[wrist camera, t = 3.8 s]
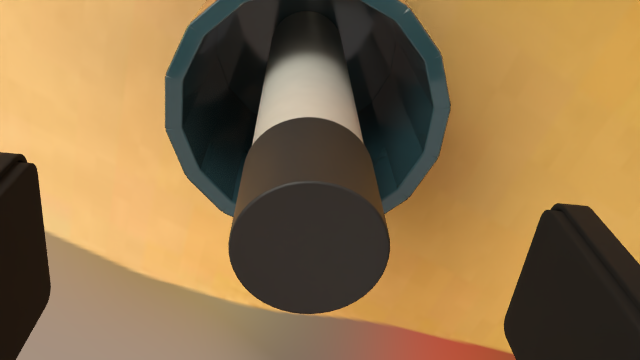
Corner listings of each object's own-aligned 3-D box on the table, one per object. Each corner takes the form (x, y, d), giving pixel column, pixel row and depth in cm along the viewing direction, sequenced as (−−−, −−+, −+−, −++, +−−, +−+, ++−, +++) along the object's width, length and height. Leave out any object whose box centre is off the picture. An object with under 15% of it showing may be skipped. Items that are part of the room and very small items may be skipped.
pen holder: (423, -49, 22) (480, -9, 15) (386, 143, 26) (417, 247, 19) (210, -77, 21) (164, -50, 14) (203, 123, 25) (164, 224, 18)
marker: (349, 12, 23) (404, 189, 10) (338, 86, 24) (375, 321, 12) (271, 3, 22) (232, 173, 10) (265, 78, 24) (224, 308, 11)
